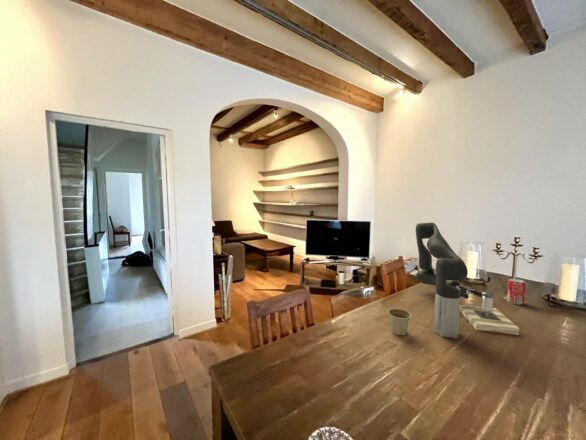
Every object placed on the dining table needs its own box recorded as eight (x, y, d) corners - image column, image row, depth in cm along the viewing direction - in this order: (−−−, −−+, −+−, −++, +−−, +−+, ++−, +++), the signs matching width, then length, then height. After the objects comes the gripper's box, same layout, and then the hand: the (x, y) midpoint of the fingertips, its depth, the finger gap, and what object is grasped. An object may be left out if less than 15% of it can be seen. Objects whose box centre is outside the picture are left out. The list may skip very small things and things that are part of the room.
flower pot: (386, 334, 108) (386, 315, 107) (388, 324, 117) (389, 306, 116) (409, 340, 104) (410, 320, 103) (410, 329, 112) (411, 311, 111)
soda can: (527, 305, 137) (529, 282, 135) (514, 305, 137) (516, 282, 136) (516, 300, 144) (517, 278, 142) (503, 299, 144) (505, 278, 143)
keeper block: (518, 334, 108) (519, 327, 107) (476, 329, 112) (476, 322, 112) (494, 313, 127) (495, 307, 126) (459, 310, 131) (459, 304, 131)
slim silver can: (493, 324, 117) (496, 295, 115) (482, 322, 118) (484, 294, 116) (489, 319, 121) (491, 291, 120) (478, 318, 122) (480, 290, 121)
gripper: (437, 279, 138) (463, 290, 122) (457, 277, 142) (486, 287, 126) (436, 292, 139) (462, 304, 123) (457, 289, 142) (485, 301, 127)
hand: (474, 295), depth 125 cm, fingers open, 8 cm apart
